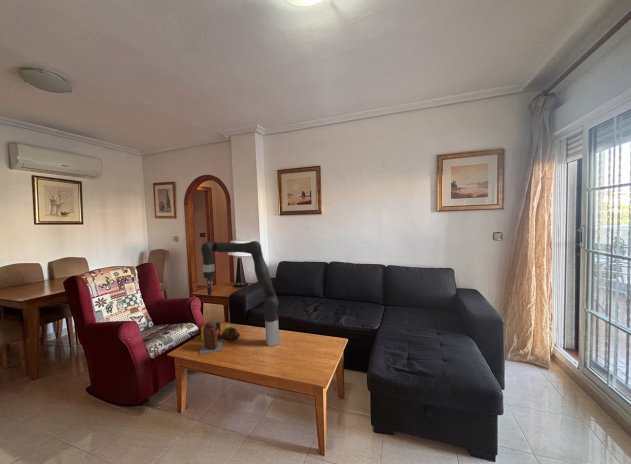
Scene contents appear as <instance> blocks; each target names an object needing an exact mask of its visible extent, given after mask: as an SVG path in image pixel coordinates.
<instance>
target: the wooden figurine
mask: <svg viewBox="0 0 631 464" xmlns="http://www.w3.org/2000/svg"><path fill="white" fill-rule="evenodd" d="M215 323H216V322H215V321H213V320H209V321H207V322H206V323H205V324H204V325H205V326H204V325H203V326H204V329H203V334H204V341H203V344H204V346H205V347H206V348H209V349H213V350H214V349H216V348H217V347H218V342H219V341H218V338H217V331H216V330H215V329H216V324H215Z"/></svg>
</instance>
